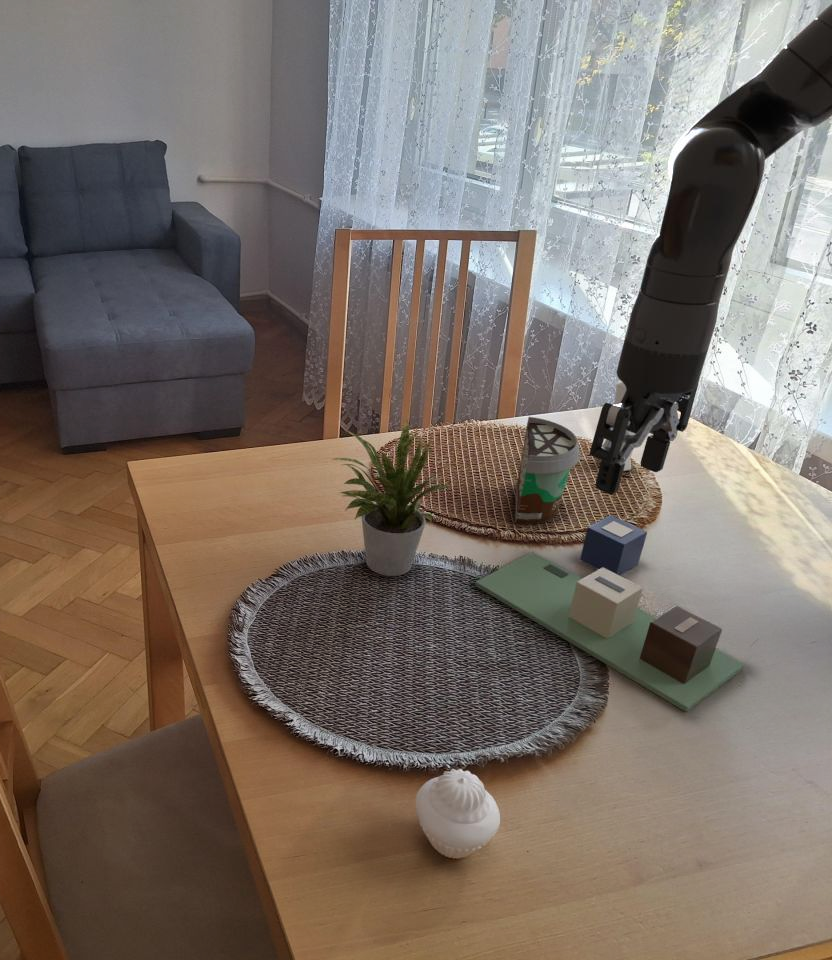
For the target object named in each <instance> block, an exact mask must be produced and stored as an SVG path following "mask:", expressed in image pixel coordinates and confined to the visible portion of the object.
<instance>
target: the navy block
mask: <svg viewBox="0 0 832 960" xmlns="http://www.w3.org/2000/svg"><path fill="white" fill-rule="evenodd" d="M647 535H648V531H646V530H644V529H642V528H640V527H638V526H635V525H633V524H631V523H630V522H627V521H624V520H622V519H620V518H618V517H616V516H614V515H611V514H610V515H608V516H607V517H604V518H602V519H601V520H599V521H597V522H595V523H593V524H591V525H589V526H588V527H587V528H586V533H585V537H584V541H583V545H582V549H581V554H580V558H579V560H580V561H581V562H583V563H585V564H587V565H589V566H591V567H593V568H595V569H596V570H599V569H600V568H602V567H603V568H605V569H607V570H609V571H611V572H613V573H615V574H617V575H619V576H621V575H624V574H625V573H626V572H628V571H630V570H632V569H633V568H635V567H637V566H638V565H639V563H640V560H641V556H642V553H643V549H644V545H645V542H646V538H647Z"/></svg>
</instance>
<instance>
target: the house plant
mask: <svg viewBox="0 0 832 960" xmlns="http://www.w3.org/2000/svg"><path fill="white" fill-rule="evenodd" d="M342 429H343V428H342ZM343 431H345V432H346V433H349V434H350V435H352V436H353V437H355V439H357V440H358V441H359V442H360V443H361V444H362V446H363V447H364V449H365V450H366V452H367V454H368V457H369V458H370V460H371V463H372V464H373V466H374V468H375V470H376V472H377V474H378V476H377V475H375V474H374V472H373V471H372V470H370V468H369V467H368V466H366V465H365V464H364V463H362V462H360V461H358V460H356V459H353V458H347V457H345V458H344V457H336V458H332V461H333V460H334V461H344V462H351V463H354V464H351V463H343V464H341V466H346V467H348V468H349V469H350V470H352V471H353V472H354V473H355V475H356V476H357V477H354V478H350V479H348V480H346V481H345V482H344V483H343V485H342V486H344V485H357V486H362V487H363V488H364V489H365V490H360V489H359V490H358V489H351V490H347V491H341V492H340V494H344V495H342V497H346V498H347V497H349V498H354V499H353V500H352V501H350V503H349V504H348V506H347V507H346V508H345V510H344V512H346V511H347V510H348V509H354V508H358V510H357V511H356V515H355V517H354V520H356V519H357V518H361V524H362V525H361V526H362V534H363V545H364V554H365V564H366V566H367V568H369V569H370V570H371V571H372V572H374V573H376V574H378V575H382V576H387V577H398V576H402V575H405V574H407V573H408V572H409V571H410V570H411V569H412V566H413V563H414V560H415V557H416V553H417V551H418V548H419V544H420V541H421V538H422V535H423V532H424V529H425V526H426V522H427V521H426V519H428V520H429V522H430V523H431V524H433V521H432V520H433V517H434V516H433V515H432V514H431V513H422V511H420V510H419V509H421V503H420V502H419V500H420V499H422V498H423V497H424V496H425V495H427V494H430V493H431V492H434V491H438V490H440V489H447V488H448V489H450V490H451V489H452V490H453V488H452V487H451V486H450V485H447V484H436V485H432V486H430V487H428V488H427V489H424V488H425V486H426V485H428V484H429V483H430V482H432V481H434V482H435V481H437V482H438V481H440V482H444V481H443V479H442V478H439V477H437V478H433V477H434V476H436V475H437V474H438V473H439V472H441V471H442V470H443V469H445V468H447V467H448V466H449V465H450V464H452V462H451V463H449V464H446V465H445V466H443V467H441V468H439V469H438V470H437V471H436V472H434V473H433V475H430V477H428V478H427V479H426V480H425V481H423V482H422V483H420V484H418V485H416V483H417V481H418V478H419V476H420V474H421V472H422V470H423V468H424V466H425V464H426V462H427V459H428V455H429V450H430V444H431V443H430V440H429V441H428V443H427V444H426V446H425V448H424V450H423V446H424V445H423V443H424V439H423V438H424V437H423V436H421V437H420V439H419V442H418V445H417V446H416V448H415V452H414V456H413V459H412V461H411V463H410V466H409V468H408V469H407V468H405V467H406V462H407V458H408V455H409V453H410V450H411V447H412V445H413V443H414V439H415V438H416V437H417V435H418V432H416V433H414V434H412V435H411V436H410V422H409V419H407V420H406V421H405V423H404V425H403V427H402V429H401V434H400V437H399V441H398V445H397V449H396V453H395V454H396V463H395V464H396V467H394V464H393V462H392V461H391V460H390V458H389V457H388V455H386V454H385V453H384V452H382V453H381V454H380V456H381V459H380V456H379V454H378V452H377V450H376V448H375V447H374V446H373V445H372V443H370V442H369V441H367V440H366V439H363V438H362V437H361V436H359V435H358V434H357V433H354V432H352V431H349V430H346V429H343ZM422 450H423V452H422ZM355 464H358V465H360V466H361V467H364V468H366V469H367V470H368V471H369V472H370V473H371V474H372V475H373V477H372V478H371V477H370V476H369V474H368V473H367V472H366V471H365V470H364V469H362V468H361V467H359V466H357V465H355ZM355 467H356V468H355ZM357 468H358V469H360V470H361V471H362V472H363V473H364V474H365V476H366V477H367V479H368V480H369V481H367V480H366V478H365V477H364V475H363V473H361V472H360V470H358V469H357ZM373 478H375V479H376V480H377V481H378V482H379V484H380V485H381V487H382V488H383V491H384V493H383V492H380V491H379V489H378V488H377V486H376V484H375V483H374V482H373V481H372V479H373ZM432 478H433V479H432ZM430 479H431V480H430ZM415 485H416V486H415ZM423 489H424V490H423ZM422 490H423V491H422ZM421 491H422V492H421ZM419 493H420V494H419Z"/></svg>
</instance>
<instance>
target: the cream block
mask: <svg viewBox="0 0 832 960" xmlns="http://www.w3.org/2000/svg"><path fill="white" fill-rule="evenodd" d="M643 589H644V588H643V586H641V585H638V584H637V583H635V582H633V581H631V580H629V579H627V578H625V577H623V576H621V575H620V576H619V575H617V574H615V573H613V572H611V571H609V570H607V569H605V568H603V567H602V568H600V569H596V570H595V571H593V572H591V573H589V574H588V575H587V576H585V577H583V578H582V579H581V580H579V581H578V582H577V583H576V587H575V591H574V596H573V600H572V604H571V608H570V612H569V617H570V618H572V619H573V620H575V621H577V622H579V623H580V624H582V625H584V626H585V627H587V628H589V629H591V630H592V631H594V632H596V633H598V634H599V635H601V636H603V637H605V638H606V639H608V638H610V637H611V636H613V635H615V634H616V633H618V632H619V631H621V630H622V629H624V628H626V627H627V626H629V625H630V624H632V623H633V621H634V617H635V614H636V610H637V608H639V603H640V600H641V596H642V592H643Z"/></svg>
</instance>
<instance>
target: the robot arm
mask: <svg viewBox="0 0 832 960" xmlns="http://www.w3.org/2000/svg"><path fill="white" fill-rule="evenodd" d="M831 117H832V3H831V4H830V5H829V6H827V8H825V9H824V10H823V11H822V12H821V13H819V14H818V15H817V16H816V18H815V19H813V20H812V21H811V22H810V23H808V24H807V26H805V27H804V28H803V29H802V30H801V31H800V32H799V33H798V34H797V35H796V36H795V37H794V38H792V40H790V41H789V42H788V43H787V44H786V45H785V47H783V48H781V50H779V52H777V53H776V54H775V56H773V58H772V59H771V60H770V61H769V62H768V63H767V64H766V65H765V66H764V67H763V68H762V69H761V70H760V71H758V73H757V74H756V75H754V76H753V77H752V78H750V79H749V80H748V81H746V82H745V83H744V84H742V85H741V86H740V87H738V88H737V89H736V90H734V91H733V92H732V93H730V94H729V95H728V96H727V97H726V98H724V99H723V100H722V101H720V102H719V103H717V104H716V105H715V106H714V107H713V108H711V109H710V110H709V111H708V112H706V113H705V114H704V115H703V116H702V117H701V118H699V119H698V121H696V122H695V123H694V124H693V125H692V126H691V127H690V128H688V129H687V131H685V132H684V134H683V135H682V136H681V137H680V138H679V139H678V141H676V143H675V145H674V146H673V148H672V151H671V153H670V155H669V159H668V166H667V170H668V176H669V179H670V185H669V189H668V190H669V191H668V194H667V199H666V204H665V208H664V213H663V217H662V220H661V225H660V230H659V234H657V235H656V237H655V238H654V240H653V242H652V244H651V246H650V249H649V252H648V256H647V259H646V263H645V267H644V271H643V276H642V278H641V284H640V287H639V290H638V293H637V296H636V299H635V301H634V304H633V306H632V308H631V312H630V316H629V320H628V324H627V328H626V332H625V336H624V340H623V345H622V348H621V352H620V356H619V360H618V364H617V369H616V376H617V378H618V379H619V380H621V381H622V382H623V383H624V385H625V386H626V392H625V394H624V396H623V398H622V400H621V402H620V404H618V405H614V403H611V402H608V401H607V402H605V403H604V404H603V405H602V407H601V410H600V414H599V417H598V421H597V424H596V427H595V428H596V429H595V432H594V435H593V439H592V442H591V446H590V450H589V456H591V457H593V458H596V459H598V460H600V464H599V468H598V472H597V476H596V480H595V485H594V486H595V488H596V489H597V490H599V491H601V492H603V493H605V494H608V495H609V496H613V495H614V494H616V493H618V492H619V490H620V489H619V488H620V484H621V481H622V478H623V473H624V471H623V470H624V466H625V461H626V460H627V458H628V457H629V455H630V453H631V452H632V450H633V451H634V450H635V448H640V447H641V446H642V445H643V443H644V441H645V440H646V441H645V445H644V448H643V452H642V455H641V459H640V463H639V464H640V466H641V468H643V469H646V470H648V471H650V472H653V473H658V472H660V471H663V469H664V466H665V462H666V459H667V455H668V452H669V449H670V445H671V442H673V441H675V439H676V437H677V436H678V432H681V433H683V432H685V431H686V429H687V427H688V425H689V421H690V417H691V413H692V409H693V407H694V402H695V399H696V394H697V390H698V387H699V382H700V378H701V375H702V372H703V369H704V365H705V362H706V358H707V356H708V352H709V348H710V346H711V341H712V339H713V336H714V332H715V328H716V326H717V322H718V321H717V320H718V313H719V307H720V301H721V297H722V294H723V291H724V287H725V284H726V282H727V281H726V280H727V277H728V274H729V270H730V266H731V264H732V263H731V262H732V258H733V253H734V249H735V247H736V244H737V243H738V241H739V239H740V237H741V235H742V232H743V230H744V228H745V225H746V224H747V221H748V219H749V216H750V215H751V212H752V210H753V207H754V204H755V202H756V199H757V196H758V194H759V191H760V188H761V184H762V181H763V177H764V173H765V165H766V160H767V159H768V158H769V157H771V156H772V155H773V154H775V152H777V151H778V150H779V149H781V148H782V147H783V146H784V145H785V144H788V142H789V141H791V140H792V139H793V138H794V137H795V136H797V135H798V134H800V133H801V132H802V131H804V130H807V129H811V128H815V127H817V126H819V125H821V124H822V123H824V122H825V121H827V120H828V119H830V118H831ZM678 411H679V412H680V415H679V413H678ZM626 430H627V431H630V432H632V433H635V435H629V434H626ZM604 440H605V441H604ZM623 442H624V443H625V445H624V447H623V448H622V450H621V446H622V443H623ZM620 450H621V452H620ZM632 453H633V452H632Z"/></svg>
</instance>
